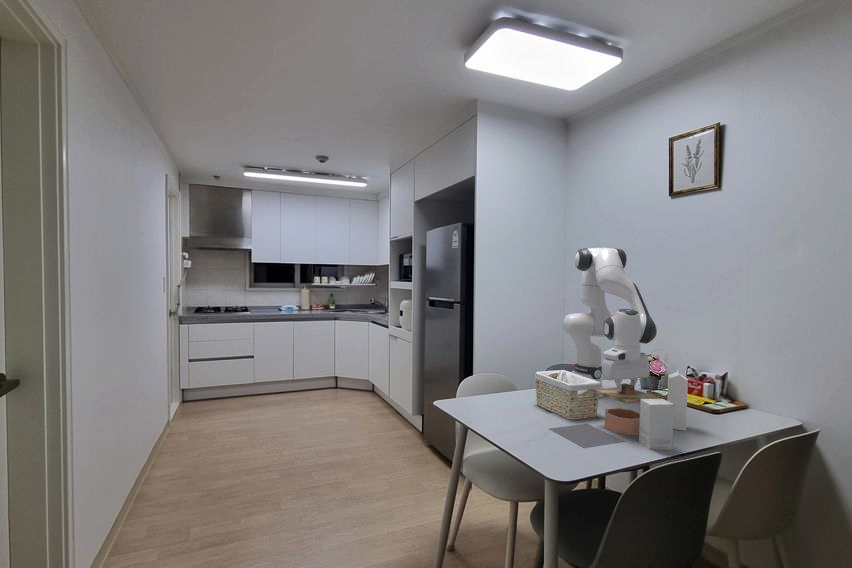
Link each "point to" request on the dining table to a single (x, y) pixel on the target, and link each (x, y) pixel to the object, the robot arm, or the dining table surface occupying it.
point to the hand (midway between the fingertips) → (625, 390)
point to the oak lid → (625, 394)
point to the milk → (678, 399)
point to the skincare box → (656, 423)
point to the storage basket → (567, 394)
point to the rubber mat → (586, 435)
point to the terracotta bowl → (622, 421)
